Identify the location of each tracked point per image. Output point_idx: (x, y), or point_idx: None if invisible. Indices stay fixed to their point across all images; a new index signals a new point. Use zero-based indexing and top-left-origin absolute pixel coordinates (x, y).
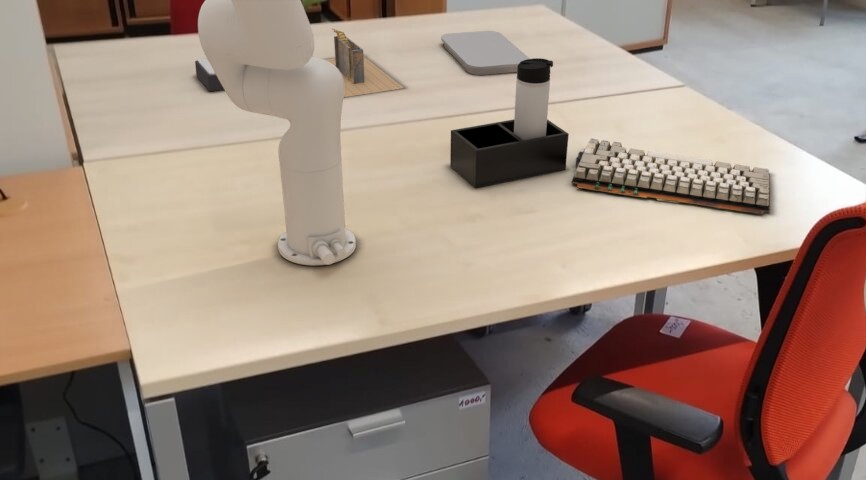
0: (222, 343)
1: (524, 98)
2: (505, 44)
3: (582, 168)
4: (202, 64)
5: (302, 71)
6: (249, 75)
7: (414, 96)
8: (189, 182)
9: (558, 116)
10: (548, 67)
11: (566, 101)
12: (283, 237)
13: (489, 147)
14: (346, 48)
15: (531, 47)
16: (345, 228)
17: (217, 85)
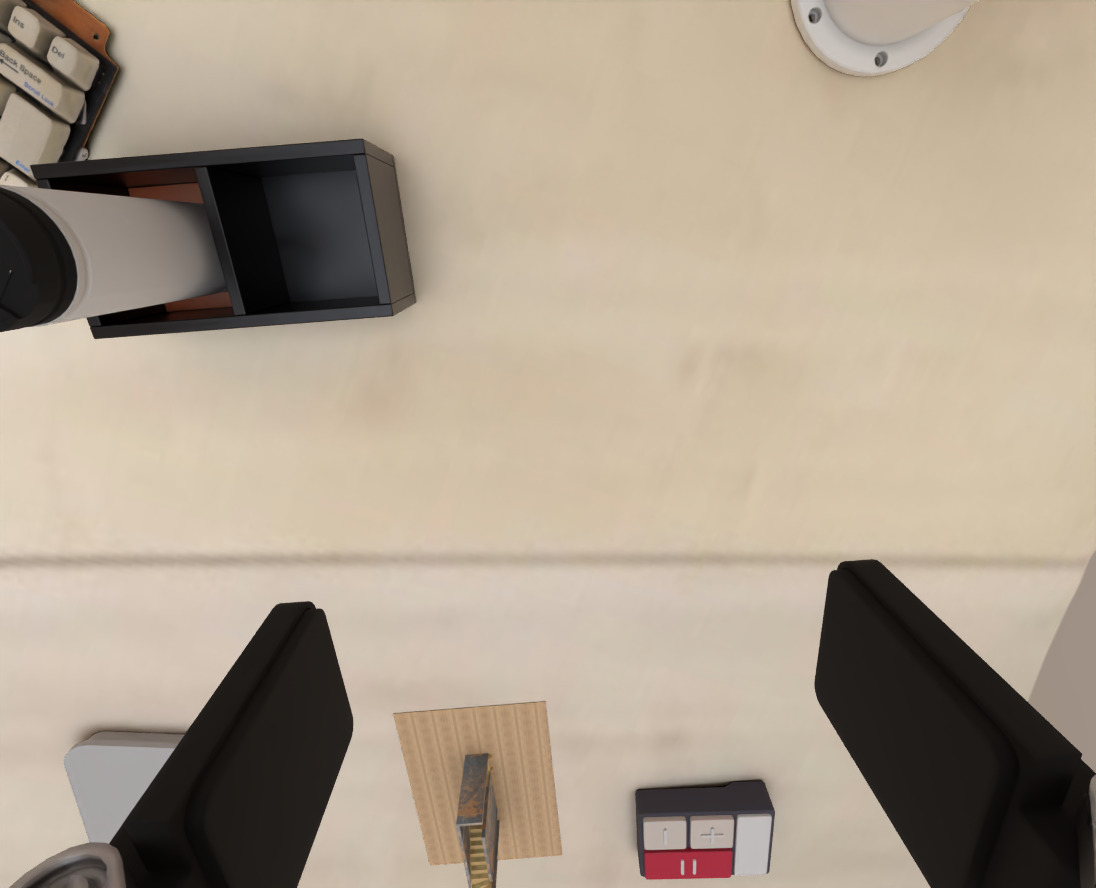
0: None
1: (100, 217)
2: (106, 838)
3: (56, 60)
4: (766, 854)
5: None
6: None
7: (382, 672)
8: (972, 416)
9: (65, 490)
10: None
11: (25, 562)
12: (954, 16)
13: (314, 149)
14: (486, 841)
15: (52, 833)
16: (800, 3)
17: (751, 790)
